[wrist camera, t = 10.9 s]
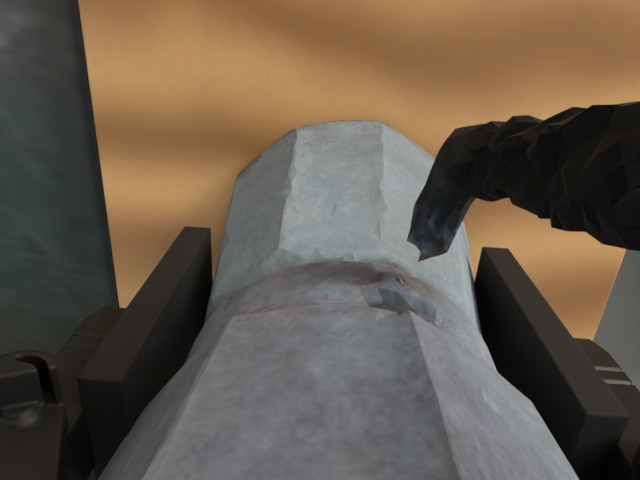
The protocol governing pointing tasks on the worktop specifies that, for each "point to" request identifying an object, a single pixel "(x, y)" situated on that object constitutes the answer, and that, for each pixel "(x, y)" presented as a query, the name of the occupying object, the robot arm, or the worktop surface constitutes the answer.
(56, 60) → the worktop surface
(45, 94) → the worktop surface
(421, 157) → the moka pot
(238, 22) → the trivet
